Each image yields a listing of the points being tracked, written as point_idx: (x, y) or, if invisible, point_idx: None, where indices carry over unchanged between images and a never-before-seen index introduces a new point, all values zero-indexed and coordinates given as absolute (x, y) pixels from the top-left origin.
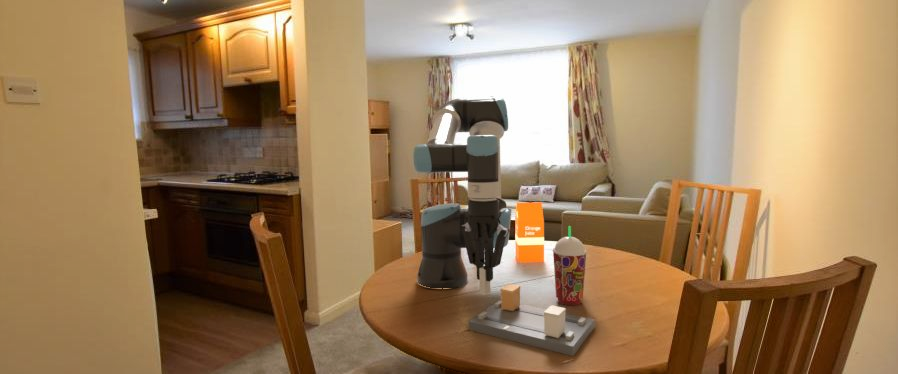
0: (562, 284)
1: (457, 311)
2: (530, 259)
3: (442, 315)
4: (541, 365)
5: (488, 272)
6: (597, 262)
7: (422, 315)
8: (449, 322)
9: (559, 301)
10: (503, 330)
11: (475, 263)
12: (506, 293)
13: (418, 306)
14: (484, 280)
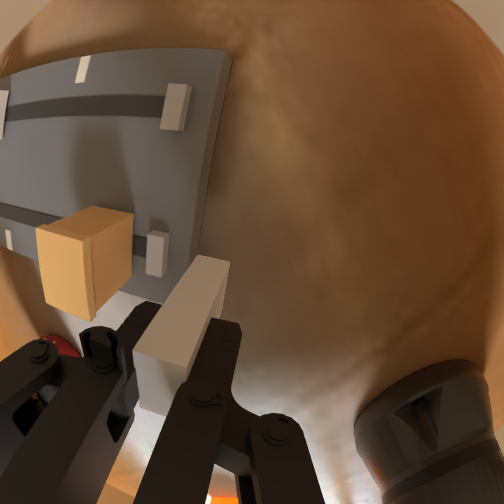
0: None
1: (339, 213)
2: (234, 501)
3: (385, 158)
4: (35, 18)
5: (126, 339)
6: (133, 482)
7: (449, 144)
8: (333, 98)
9: (72, 349)
10: (90, 55)
11: (235, 421)
12: (70, 230)
13: (478, 223)
14: (171, 296)
